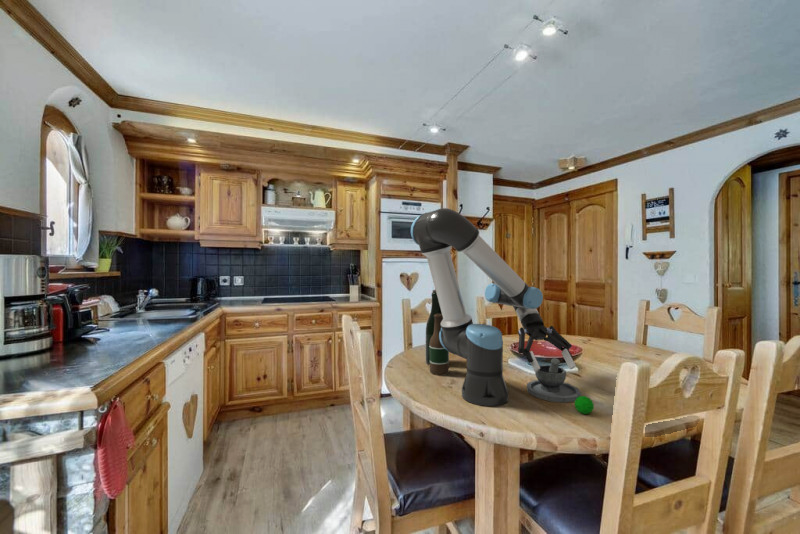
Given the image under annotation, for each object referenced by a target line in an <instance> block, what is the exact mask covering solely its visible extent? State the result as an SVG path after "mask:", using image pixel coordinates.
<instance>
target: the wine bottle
mask: <svg viewBox="0 0 800 534" xmlns="http://www.w3.org/2000/svg"><path fill="white" fill-rule="evenodd" d="M435 314H442V312H441V308H440V304H439V301H438V297H437V293H436V290H435V289H432V292H431V307H430V313H429V315H428V316H429V317H428V319H427V320H426V321H427V322H426V326H425V351H424V352H425V353H424V354H425V355H424V356H425V363H426V364H427V365H428V366H430V354H429V344H430V339H431V337H432V335H433V334H434V322H435V317H434V315H435ZM442 318H443V317H442Z"/></svg>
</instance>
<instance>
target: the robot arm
mask: <svg viewBox="0 0 800 534" xmlns="http://www.w3.org/2000/svg"><path fill="white" fill-rule="evenodd" d="M410 235H411V239H412V240H413V242H414V243H415V244H416V245H418V246H419V250H420V253H421V255H423V256H424V257H426V259H427V263H428V266H429V267H428V268H429V270H430V274H431V279H432V283H433V285H434V290H436V293H437V297H438V301H439V304H440V308H441V312H442V316H443V320H442V321H441V331H440V333H439V339H440V342H441V344H442V346H443V347H444V348H445V349H446V350H447V351H449V354H452V355H454V356H458V357H461V358H463V359H465V360H466V375H465V378H464V381H463V384H462V387H461V397H462V399H464V400H465V401H466V402H469V403H471V404H473V405H478V406H482V407H483V406H484V407H485V406H486V407H494V406H501V405H505V404H506V403H507V402H509V390H508V387H507V383H506V381H505V377H504V375H503V369H504V365H503V363H504V360H503V359H504V355H503V353H504V346H503V345H504V341H503V333H502V331H501V330H500V329H499V328H498V327H495V326H493V325H490V324H485V323H473V318H472V316H471V315H470V314H468V313H467V312H466V308H465V304H464V300H463V295H462V292H461V289H460V284H459V281H458V278H457V273H456V269H455V267H454V262H453V258H452V255H451V249H452V248H453V249H454V250H455V251H457V252H459V253H462V252H463V254H464V255H465V256H466V257H467V258H468V259H470V260H471V261H472V262H473V264H475V265H476V266H477V267H478V268H479V269H480V270H481V271H482V272H483V273H484V274H485V275H486V276H487V277H488V278H489V279H490V280H491V281H492V282H493V283H491V282H490V283H489V284H487V286H486V287H485V290H484V297H485V299H486V302H489V303H492V304H498V305H503V306H508V307H509V306H510V307H513V309H514V311H515V313H516V316H517V317H518V319H519V321H520V324H521V326H522V327H520V328H519V330H518V331H517V333H518V349H517V352H518V354H522V356H524V357H525V358H526V360H527V362H528V363H530V365H531V367H532V368H533V371H534V373H535V372H538V371H539V370H540V366H541V365H540V364H539V362H538V360H537V358H536V356H535V353H534V352H533V351H532V350H531V348H532V346H533V343H534V341H545V342H548V344H549V343H550V344H551V345H553V346H554V347H555V348H556V349H558V350H559V351H561V355H562V357H563V359H564V360H565V363H566V364H567V366H568V368H569V370H573V369H574V368H575V367H576V363H575V361H574V360H573V355H572V353H571V351H570V349H571V348H572V347H573V345H572V344H571V343H570V342H569V340H567V339H566V338H565V337H563V335H562V334H560V333H559V332H558V331H557V330H556V328H555V327H554V326H553V325H550V326H549V327H546V326H545V325H544V320H543V318H542V317H541V315H540V313H539V311H538V309H537V308H539V307H540V306H541V305H542V303H543V300H544V298H543V297H544V295H543V292H542V290H540V288H537V287H534V286H529V285H528V284H527V283H526V282H525V281H524V280H523V279H522V277H520V276H519V274H517V272H515V270H514V269H512V267H511V266H509V265H508V263H507V262H506V261H505V260H504V259H503V258H502V257H501V256H500V255H499V254H498V253H497V252H496V251H495V250H494V248H492V247H491V245H489V244H488V243H487V242H486V241H485V239H483V238H482V237H481V236H480V230H479V229H478V228H477V227H476V226H475V225H474V224H473V223H472V222H471V221H470V220H469V219H467V218H466V217H465V216H464V215H462V214H461V213H460V212H458V211H456V210H453V209H451V208H446V207H444V208H443V207H442V208H438V209H435V210H433V211H428V212H424V213H421V214H420V215H419V216H417V217H416V218H415V219H414V220H413V222H412V224H411V226H410ZM526 335H527V336H528V339H527V343H526V344H525V342H526V341H525V339H526ZM530 350H531V351H530Z"/></svg>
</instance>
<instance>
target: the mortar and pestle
mask: <svg viewBox="0 0 800 534" xmlns="http://www.w3.org/2000/svg"><path fill="white" fill-rule="evenodd" d="M559 365H561V361H560V360H559V359H558V358H555V357H554V358H551V359H550V365H547V364H543V365H539V366H540V370H539V371H538V372H535V371H534V374H535V377H536V380H538V381H539V382H540V383H541V389H542V390H544V391H547V392H553V393H555V392H559V391H560V385H562V384H563V382H564V383H565V381H566V378H567V370H565V369H564V368H562V367H559Z"/></svg>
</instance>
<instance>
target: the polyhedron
mask: <svg viewBox="0 0 800 534" xmlns="http://www.w3.org/2000/svg"><path fill="white" fill-rule="evenodd" d="M574 407H575V409H576V410H577V412H579V413H580V414H582V415H588V414H591V413H592V411H593V410H594V408H595V405H594V402H593V401H592V399H591V398H590V397H588V396H585V395H581V396H580V397H577V399H576V400H575V401H574Z"/></svg>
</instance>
